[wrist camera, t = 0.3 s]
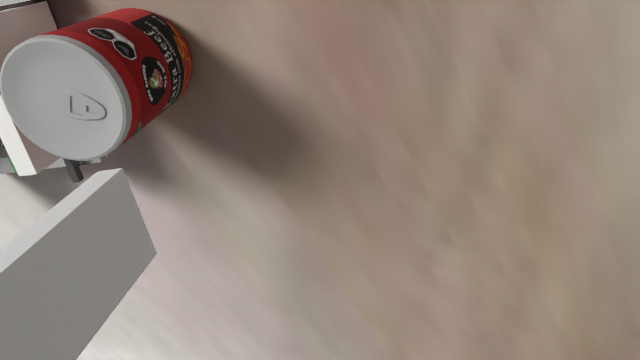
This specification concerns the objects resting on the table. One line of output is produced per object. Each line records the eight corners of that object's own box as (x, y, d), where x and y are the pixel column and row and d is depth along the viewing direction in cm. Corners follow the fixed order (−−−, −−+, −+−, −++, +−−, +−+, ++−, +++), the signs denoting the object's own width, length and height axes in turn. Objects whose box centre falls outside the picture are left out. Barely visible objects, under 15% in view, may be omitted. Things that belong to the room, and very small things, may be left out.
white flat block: (29, 4, 39) (-54, 24, 32) (46, 1, 39) (-35, 20, 32) (93, 162, 45) (34, 209, 38) (109, 161, 45) (52, 207, 37)
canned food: (203, 104, 41) (139, 162, 31) (111, 105, 42) (22, 162, 33) (185, 3, 38) (107, 33, 28) (85, 8, 39) (-22, 39, 29)
